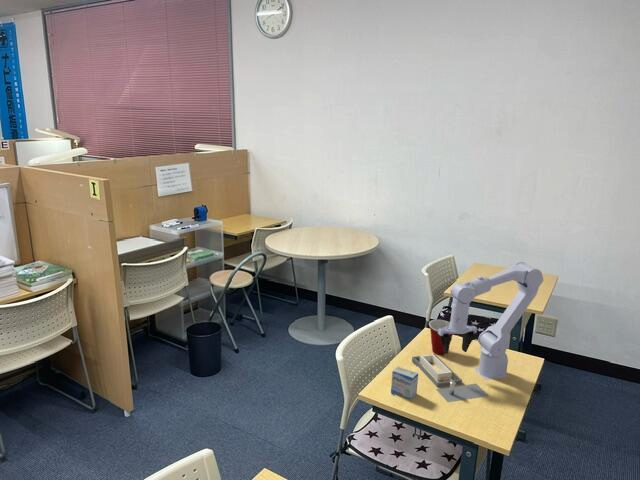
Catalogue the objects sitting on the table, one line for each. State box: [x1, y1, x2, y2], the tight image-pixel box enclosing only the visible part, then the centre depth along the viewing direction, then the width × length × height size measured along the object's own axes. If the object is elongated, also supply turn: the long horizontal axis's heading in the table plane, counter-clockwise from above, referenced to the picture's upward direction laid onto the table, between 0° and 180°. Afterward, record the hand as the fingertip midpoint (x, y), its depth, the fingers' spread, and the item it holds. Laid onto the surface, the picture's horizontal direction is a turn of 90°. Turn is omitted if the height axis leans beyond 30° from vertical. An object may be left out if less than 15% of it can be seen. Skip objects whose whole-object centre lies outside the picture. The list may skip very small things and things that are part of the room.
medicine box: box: [390, 366, 419, 400], centre depth 161 cm, size 8×4×9 cm, turn 55°
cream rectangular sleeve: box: [419, 353, 453, 382], centre depth 176 cm, size 16×6×3 cm, turn 15°
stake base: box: [435, 378, 490, 403], centre depth 162 cm, size 16×8×6 cm, turn 105°
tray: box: [411, 353, 463, 388], centre depth 176 cm, size 10×20×2 cm, turn 15°
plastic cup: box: [428, 319, 454, 356], centre depth 191 cm, size 11×11×12 cm
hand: (454, 351), depth 171 cm, fingers open, 7 cm apart
